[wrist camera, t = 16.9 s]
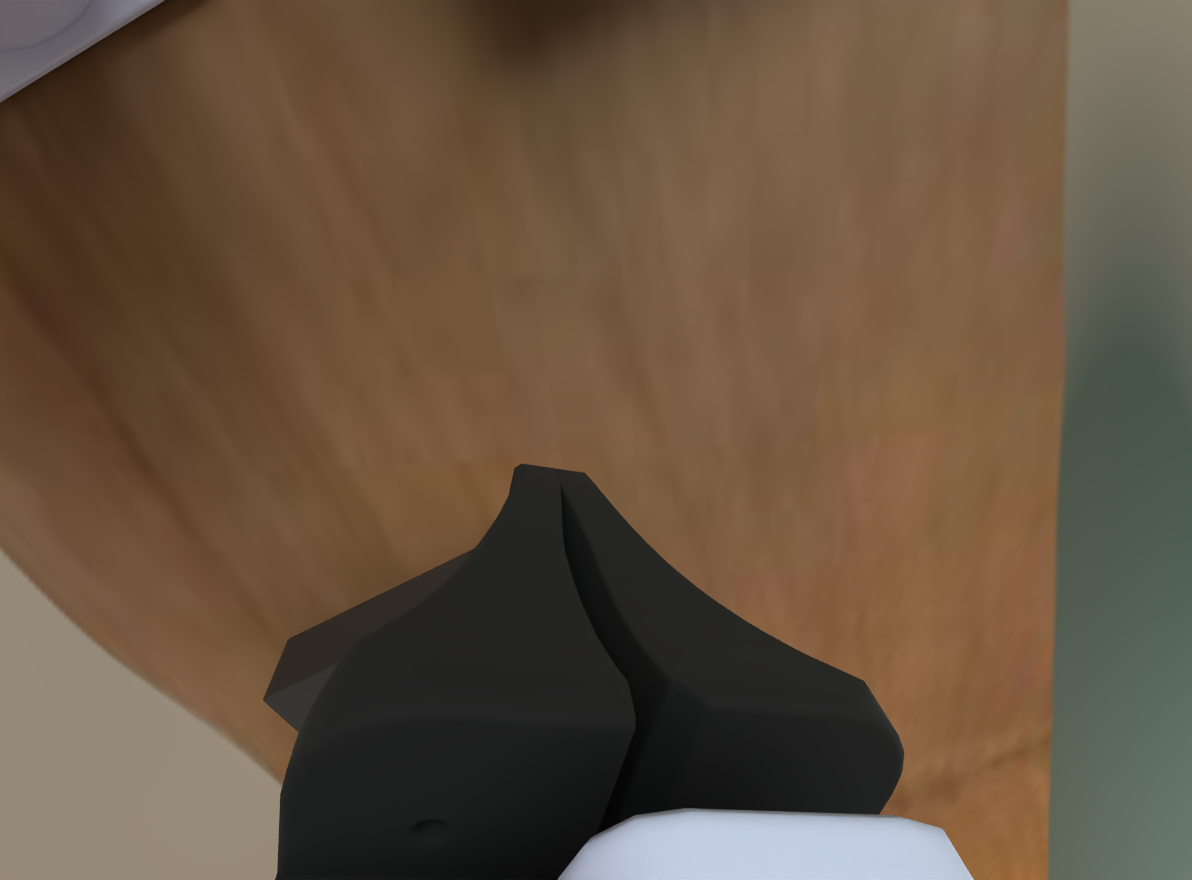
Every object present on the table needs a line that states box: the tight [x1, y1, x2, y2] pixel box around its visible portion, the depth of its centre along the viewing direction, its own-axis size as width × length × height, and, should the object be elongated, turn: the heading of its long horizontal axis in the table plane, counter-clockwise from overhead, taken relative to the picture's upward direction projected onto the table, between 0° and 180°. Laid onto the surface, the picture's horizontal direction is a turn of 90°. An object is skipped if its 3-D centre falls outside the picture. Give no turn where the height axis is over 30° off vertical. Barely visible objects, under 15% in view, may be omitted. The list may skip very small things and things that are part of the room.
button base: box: [263, 549, 474, 732], centre depth 25 cm, size 12×10×5 cm
